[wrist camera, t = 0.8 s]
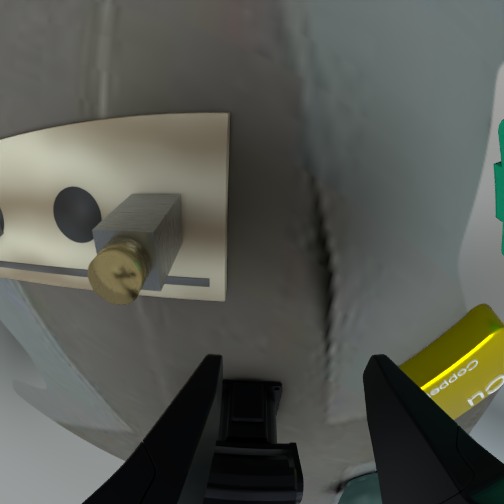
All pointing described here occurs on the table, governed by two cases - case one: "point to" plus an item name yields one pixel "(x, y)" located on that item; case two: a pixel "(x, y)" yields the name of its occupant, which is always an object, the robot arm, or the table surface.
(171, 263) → the sliding leg
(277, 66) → the table surface
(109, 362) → the table surface
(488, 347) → the element tile
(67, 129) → the bolt plate
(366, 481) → the flower pot
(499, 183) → the camera mount
